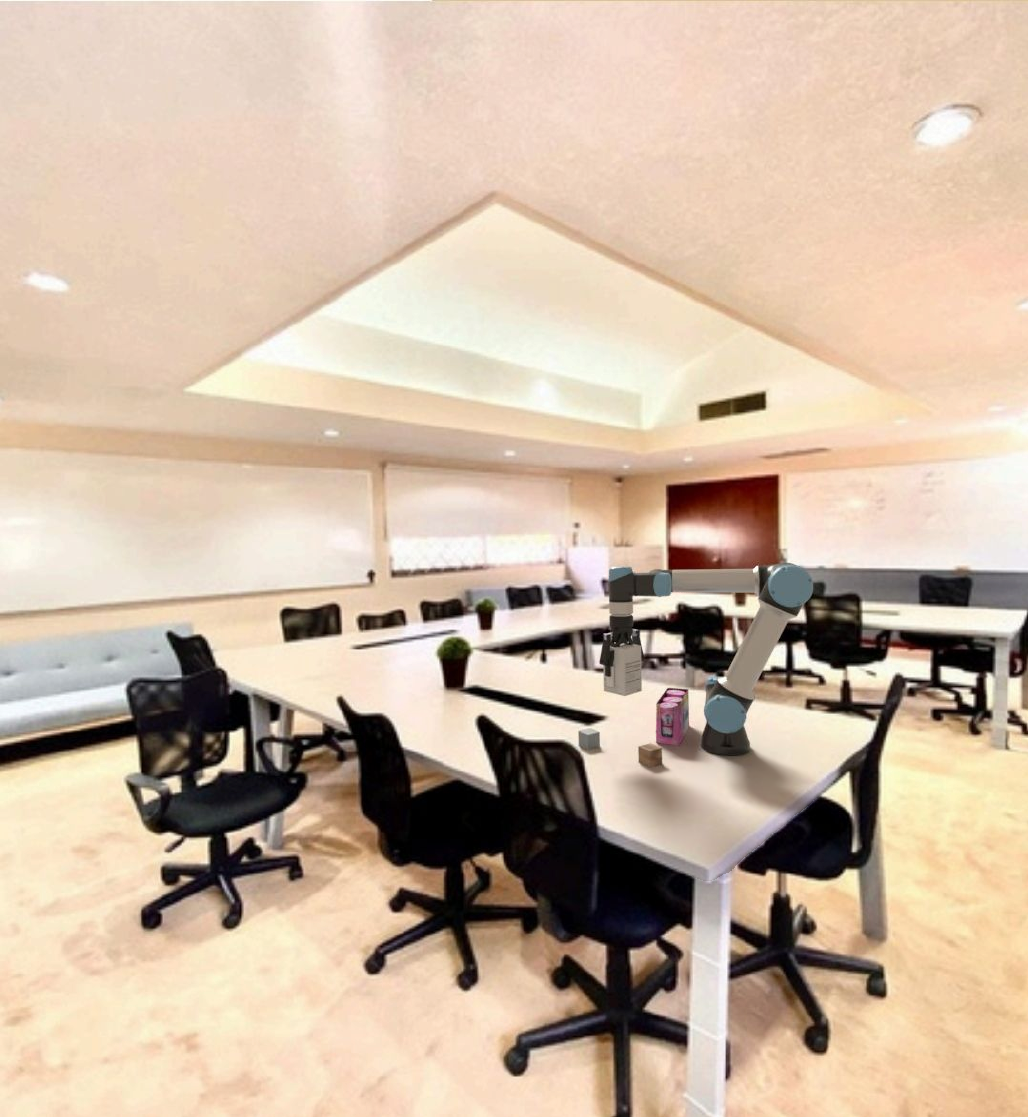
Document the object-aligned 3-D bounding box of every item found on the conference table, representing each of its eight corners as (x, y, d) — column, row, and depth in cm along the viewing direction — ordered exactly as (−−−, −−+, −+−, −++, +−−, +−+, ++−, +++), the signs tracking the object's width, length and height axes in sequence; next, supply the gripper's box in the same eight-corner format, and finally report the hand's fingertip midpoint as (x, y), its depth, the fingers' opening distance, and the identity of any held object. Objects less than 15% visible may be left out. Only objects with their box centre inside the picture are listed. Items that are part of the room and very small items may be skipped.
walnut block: (650, 759, 188) (650, 743, 188) (662, 763, 184) (661, 747, 184) (638, 762, 186) (638, 746, 185) (650, 767, 181) (649, 751, 181)
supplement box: (602, 691, 193) (601, 645, 193) (620, 686, 199) (619, 641, 199) (624, 696, 186) (623, 649, 186) (642, 691, 192) (641, 645, 192)
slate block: (590, 742, 204) (590, 728, 204) (599, 746, 200) (599, 732, 200) (578, 745, 202) (578, 730, 201) (588, 749, 197) (587, 734, 197)
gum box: (678, 747, 197) (678, 706, 197) (654, 744, 200) (654, 704, 200) (689, 725, 219) (689, 689, 218) (667, 723, 222) (667, 687, 222)
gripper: (638, 610, 201) (640, 676, 202) (586, 616, 189) (588, 686, 190) (654, 612, 194) (656, 681, 195) (601, 619, 183) (603, 691, 184)
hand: (622, 683), depth 193 cm, fingers closed on supplement box, 9 cm apart
